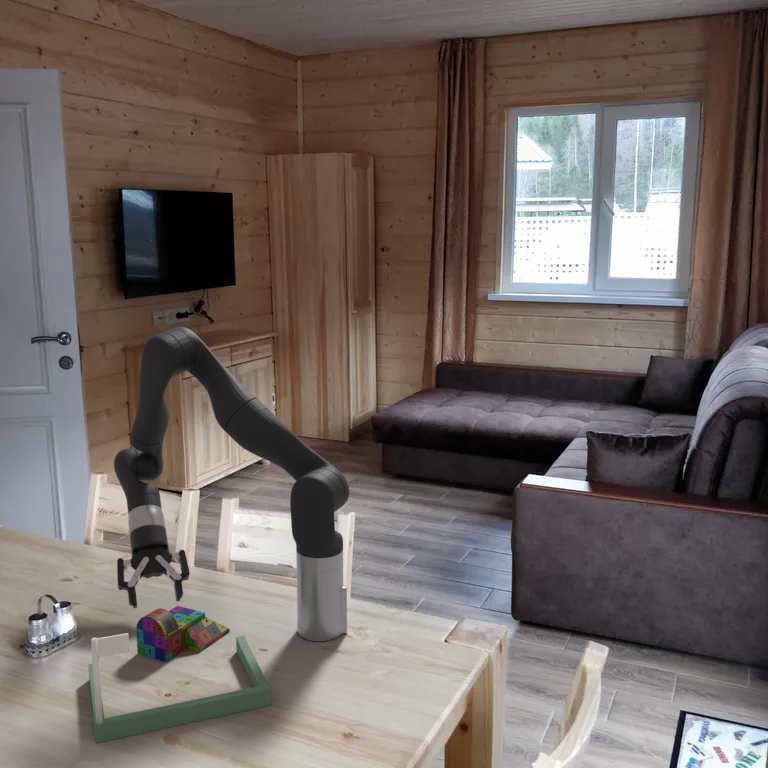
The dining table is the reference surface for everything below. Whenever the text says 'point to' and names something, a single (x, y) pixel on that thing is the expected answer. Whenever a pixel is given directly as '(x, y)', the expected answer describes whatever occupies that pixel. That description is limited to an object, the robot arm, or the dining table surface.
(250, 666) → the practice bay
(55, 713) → the dining table surface
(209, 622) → the building blocks
